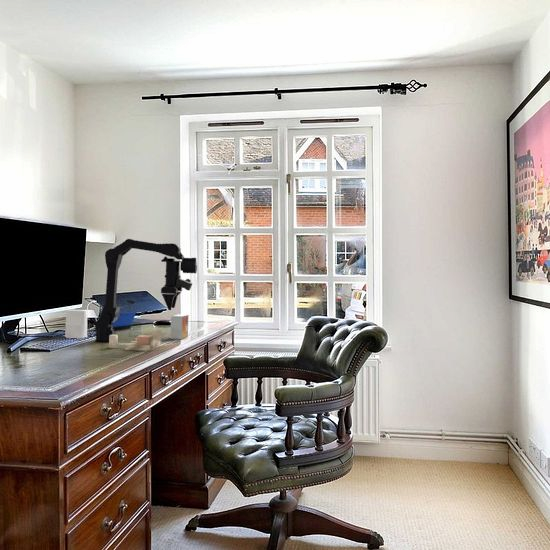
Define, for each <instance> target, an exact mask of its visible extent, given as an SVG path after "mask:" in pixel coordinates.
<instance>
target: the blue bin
mask: <svg viewBox="0 0 550 550" xmlns="http://www.w3.org/2000/svg"><path fill="white" fill-rule="evenodd" d="M119 314H120V316H118V319H117V320H116V321H115V322H114V323H113V325H112V326H113V330H114V331H118V330H119V331H120V330H129V329H131V327H132V323H133V321H134V319H135V317H136V314H137V313H136V311H128V312H127V311H125V312H119ZM94 330H96V326H95V327H94Z"/></svg>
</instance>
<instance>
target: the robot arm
mask: <svg viewBox="0 0 550 550" xmlns="http://www.w3.org/2000/svg"><path fill="white" fill-rule="evenodd" d="M132 249H134V250H135V249H136V250H141V251H142V250H143V251H149V252H153V253H154V252H156V253H159V254H161V255H164V256H163V259H161V262H162V263H163V262H164V263H165V275H164V278H165V281H164V282H165V284H164V285H163V287H161V288H160V294H161V296H162V298H163V300H164V302H165V305H166V307H167V310H168V311H171V310H172V309H175V307H176V303H177V299H178V296H179V295H180V294H182V292H183V289H185V290H186V291H191V289H192V286H193V282H192V281H191V279H189V278H186V279H183V278H181V275H180V271H182V274H197V272H198V263H197V257H185V256H184V255H183V253H182V251H181V247H180V246H179V244H176V243H156V242H155V243H154V242H147V241H143V240H135V239H133V238H127V239H125V240H124V241H122V242H121V243H120V244H118V245H116V246H115V247H113V248H109V249H107V250H106V251H105V252H104V259H105V265H106V269H107V272H106V275H107V276H106V286H105V298H104V299H105V301H104V305H103V307H102V309H101V314H100V317H99V318H98V320H96V321H95V322H94V325H95V327H96V329H95V340H94V342H95V343H109V335H115V330H113V326H112V325H113V323H114V322H115V321H116V320H117V319H118V316H120V314H119V313H120V311H121V306H118V305H117V291H118V289H117V288H118V278H119V277H118V275H119V269H120V266H121V264H122V260H123V256H125V255H126V254H128V252H130V251H131V250H132ZM169 257H170V258H169ZM175 259H177V260H175Z"/></svg>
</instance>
